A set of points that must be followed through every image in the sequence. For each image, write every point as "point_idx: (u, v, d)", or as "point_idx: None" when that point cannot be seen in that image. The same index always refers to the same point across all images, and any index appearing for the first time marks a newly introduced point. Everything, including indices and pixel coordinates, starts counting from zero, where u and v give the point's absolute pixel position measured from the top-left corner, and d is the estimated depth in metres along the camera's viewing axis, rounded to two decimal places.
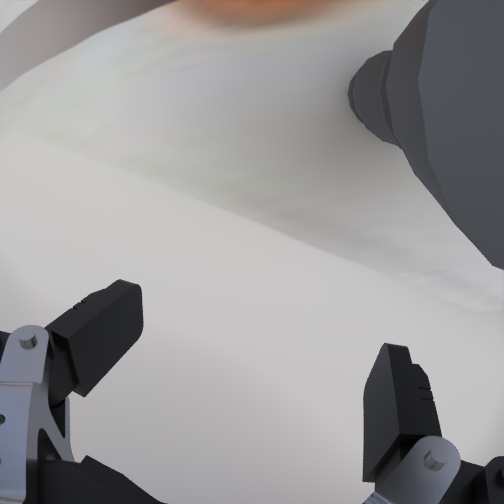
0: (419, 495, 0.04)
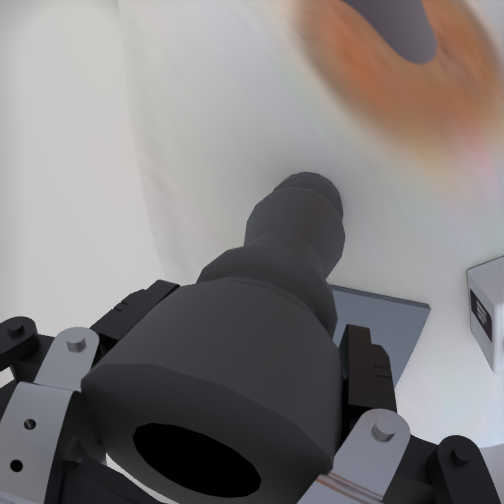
0: (372, 468, 0.04)
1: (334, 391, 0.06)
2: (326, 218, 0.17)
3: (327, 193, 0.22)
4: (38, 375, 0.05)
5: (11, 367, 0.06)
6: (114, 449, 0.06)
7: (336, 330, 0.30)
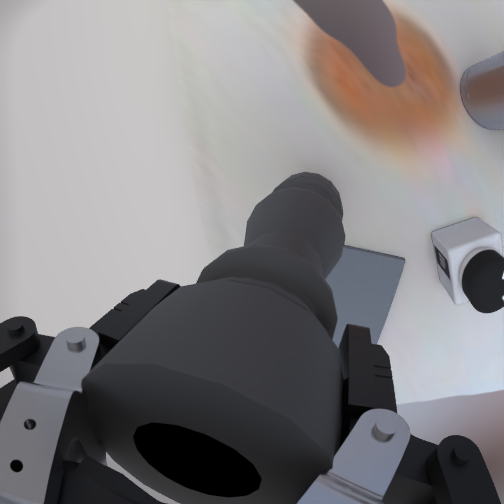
0: (372, 468, 0.04)
1: (334, 391, 0.06)
2: (326, 218, 0.17)
3: (327, 193, 0.22)
4: (38, 374, 0.05)
5: (11, 367, 0.06)
6: (114, 449, 0.06)
7: (336, 276, 0.42)
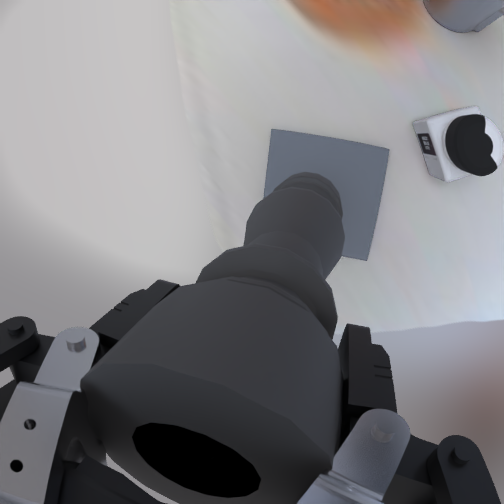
0: (373, 468, 0.04)
1: (334, 391, 0.06)
2: (326, 218, 0.17)
3: (327, 193, 0.22)
4: (38, 374, 0.05)
5: (11, 367, 0.06)
6: (114, 449, 0.06)
7: (320, 167, 0.41)
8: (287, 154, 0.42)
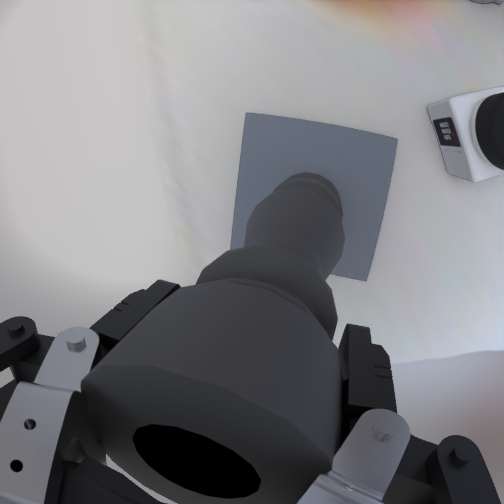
0: (372, 468, 0.04)
1: (334, 392, 0.06)
2: (326, 219, 0.17)
3: (327, 193, 0.22)
4: (38, 375, 0.05)
5: (11, 367, 0.06)
6: (114, 450, 0.06)
7: (308, 161, 0.32)
8: (265, 144, 0.32)
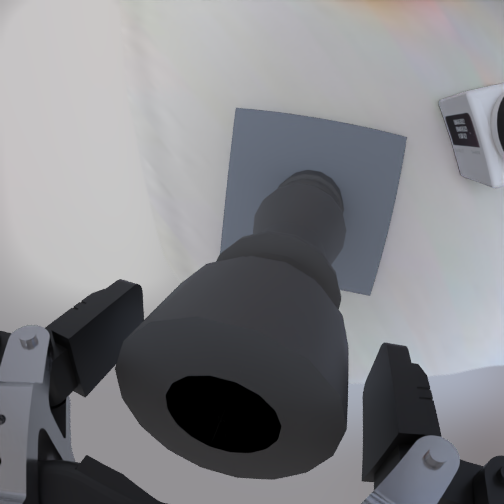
0: (418, 494, 0.04)
1: (341, 348, 0.07)
2: (329, 212, 0.18)
3: (329, 189, 0.24)
4: None
5: None
6: (144, 412, 0.07)
7: (306, 162, 0.28)
8: (258, 143, 0.29)
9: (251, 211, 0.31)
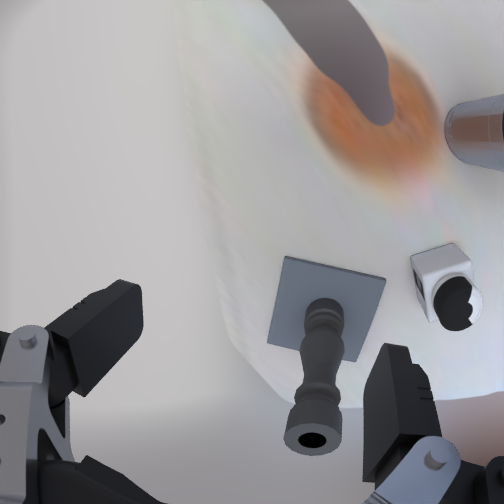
0: (419, 495, 0.04)
1: (340, 423, 0.27)
2: (338, 349, 0.38)
3: (337, 321, 0.44)
4: None
5: None
6: (289, 441, 0.27)
7: (324, 293, 0.48)
8: (296, 281, 0.49)
9: (289, 317, 0.51)
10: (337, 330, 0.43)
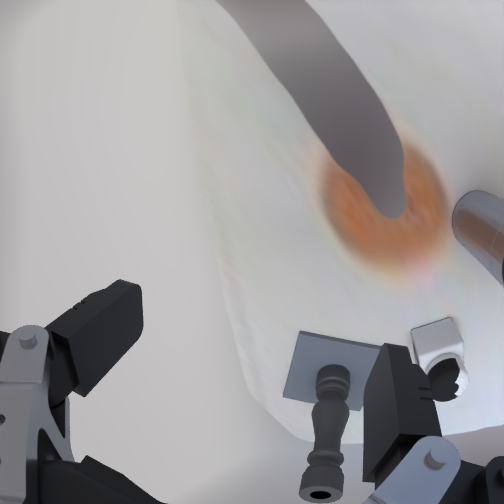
0: (419, 495, 0.04)
1: (342, 482, 0.32)
2: (343, 416, 0.42)
3: (344, 387, 0.48)
4: None
5: None
6: (303, 495, 0.32)
7: (334, 361, 0.53)
8: (309, 351, 0.53)
9: (302, 378, 0.56)
10: (344, 395, 0.48)
